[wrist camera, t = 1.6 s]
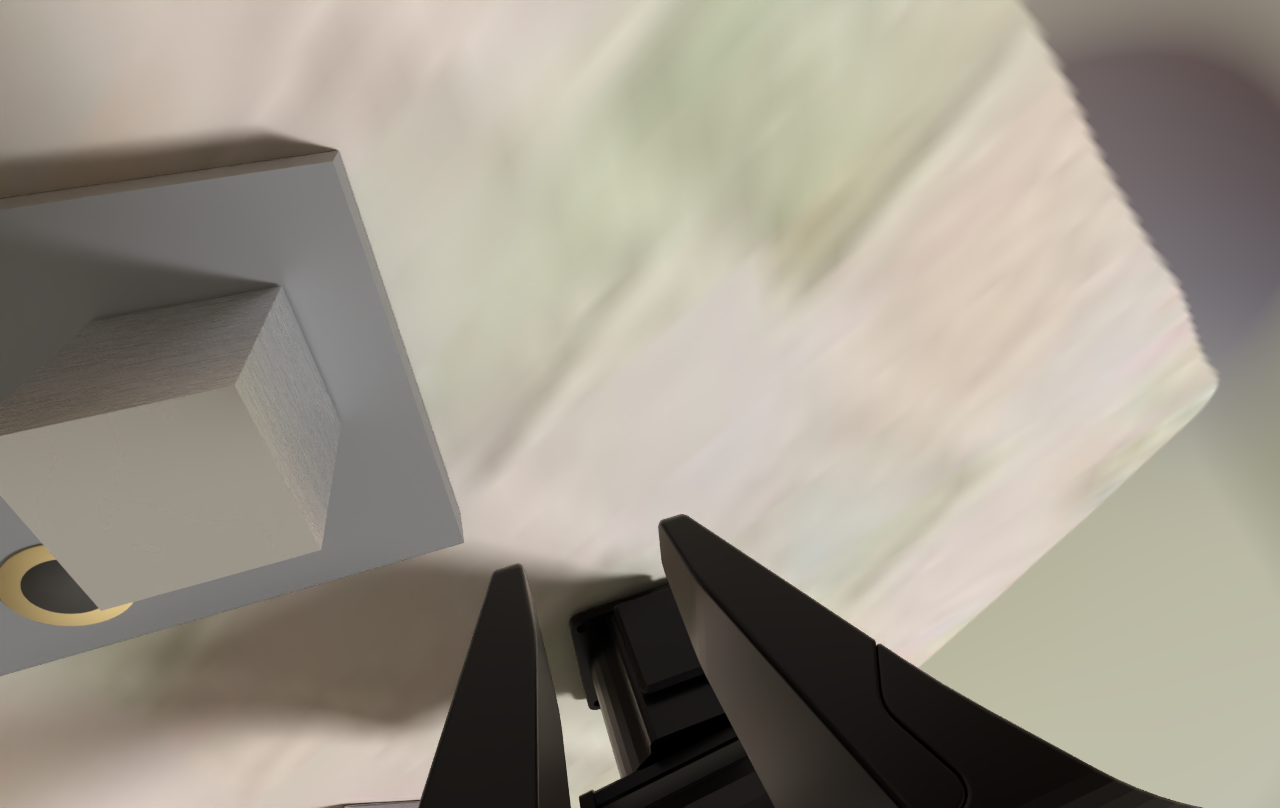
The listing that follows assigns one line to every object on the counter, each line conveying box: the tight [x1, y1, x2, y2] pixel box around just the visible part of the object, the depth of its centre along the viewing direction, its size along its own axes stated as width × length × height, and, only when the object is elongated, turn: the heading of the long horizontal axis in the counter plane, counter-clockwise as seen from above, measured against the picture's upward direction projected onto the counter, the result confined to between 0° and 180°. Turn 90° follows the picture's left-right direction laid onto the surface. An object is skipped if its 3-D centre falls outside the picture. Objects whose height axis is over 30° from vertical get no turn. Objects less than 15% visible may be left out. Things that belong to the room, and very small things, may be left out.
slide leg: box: [0, 286, 341, 611], centre depth 14 cm, size 7×4×5 cm, turn 5°
